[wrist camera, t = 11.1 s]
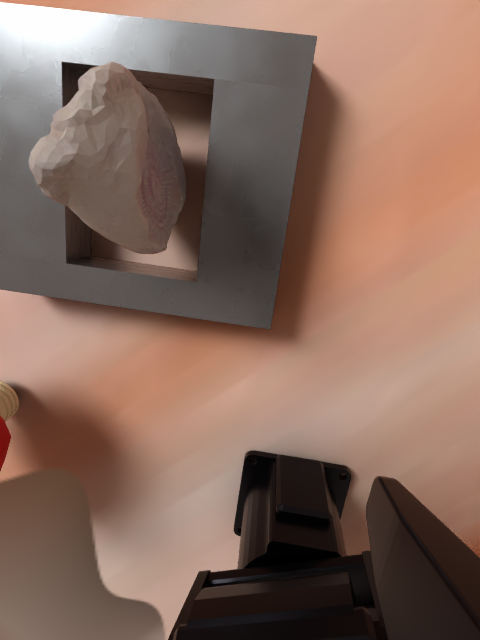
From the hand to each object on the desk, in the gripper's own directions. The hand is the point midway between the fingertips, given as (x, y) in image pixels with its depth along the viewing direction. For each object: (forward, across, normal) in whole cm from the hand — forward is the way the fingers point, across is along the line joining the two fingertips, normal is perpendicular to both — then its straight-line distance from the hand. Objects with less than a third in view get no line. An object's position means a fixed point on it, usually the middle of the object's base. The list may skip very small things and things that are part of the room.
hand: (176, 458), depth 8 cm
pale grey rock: (+13, +4, -6) cm, 15 cm away
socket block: (+12, +5, -6) cm, 15 cm away
